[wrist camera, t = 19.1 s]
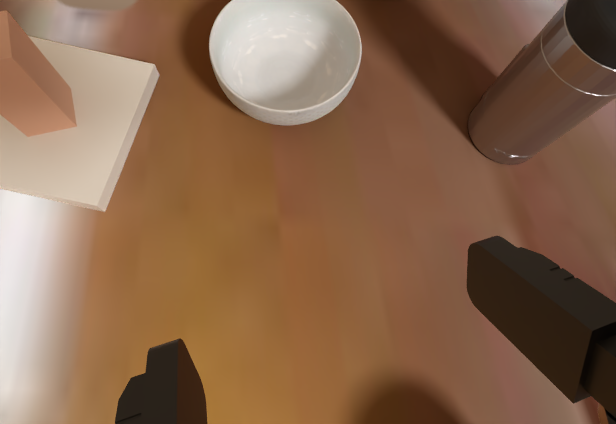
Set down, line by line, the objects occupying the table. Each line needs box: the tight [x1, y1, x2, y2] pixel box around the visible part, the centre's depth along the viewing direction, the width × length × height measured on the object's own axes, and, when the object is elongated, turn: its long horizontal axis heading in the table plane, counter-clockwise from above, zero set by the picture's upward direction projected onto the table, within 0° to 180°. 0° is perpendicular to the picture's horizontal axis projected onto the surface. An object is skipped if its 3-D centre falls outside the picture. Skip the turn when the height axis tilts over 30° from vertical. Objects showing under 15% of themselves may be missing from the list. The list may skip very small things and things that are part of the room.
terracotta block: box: [0, 10, 77, 137], centre depth 37 cm, size 5×5×11 cm
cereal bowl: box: [209, 0, 362, 125], centre depth 45 cm, size 17×17×7 cm
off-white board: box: [0, 36, 159, 212], centre depth 44 cm, size 18×18×2 cm
